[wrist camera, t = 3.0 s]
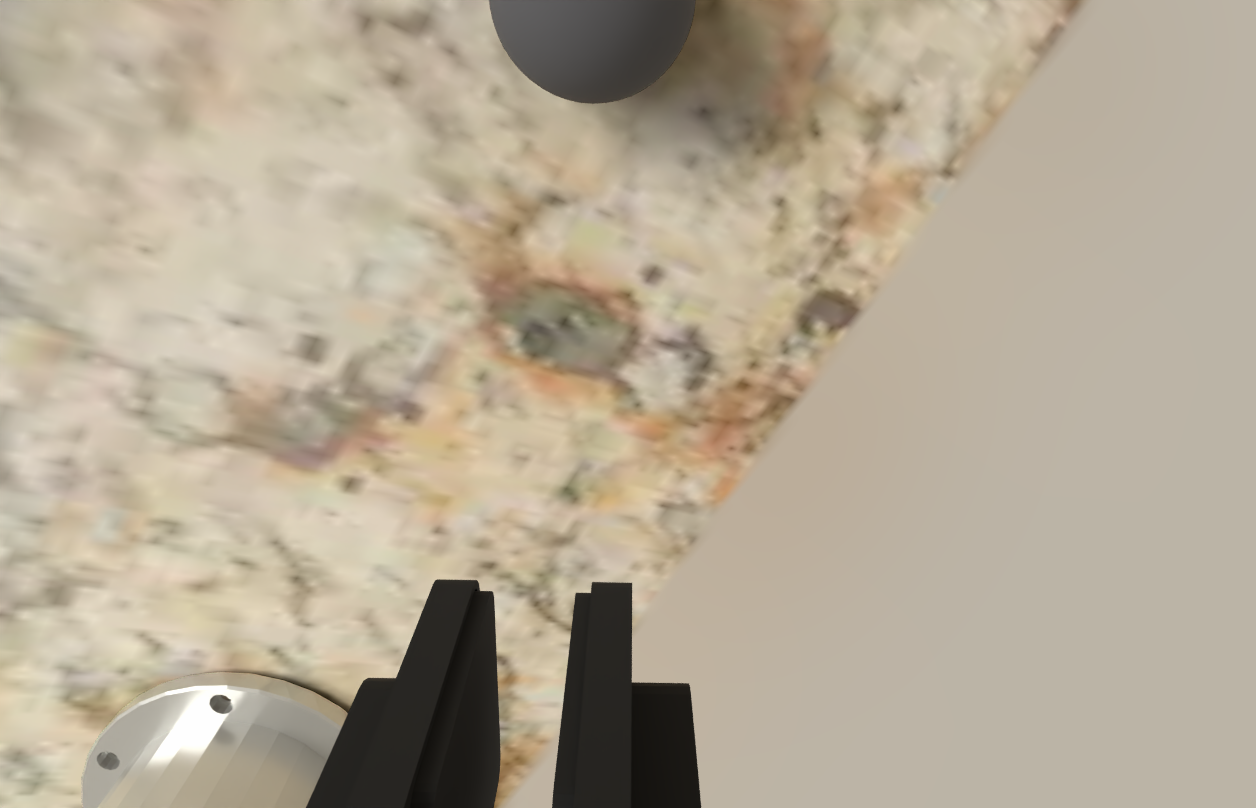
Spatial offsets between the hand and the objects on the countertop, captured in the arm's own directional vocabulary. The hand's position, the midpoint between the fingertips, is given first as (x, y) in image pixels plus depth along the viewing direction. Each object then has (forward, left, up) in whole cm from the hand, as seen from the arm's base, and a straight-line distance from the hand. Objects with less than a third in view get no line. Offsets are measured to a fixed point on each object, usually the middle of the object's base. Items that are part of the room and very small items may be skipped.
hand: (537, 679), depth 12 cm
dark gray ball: (+10, 0, -16) cm, 19 cm away
